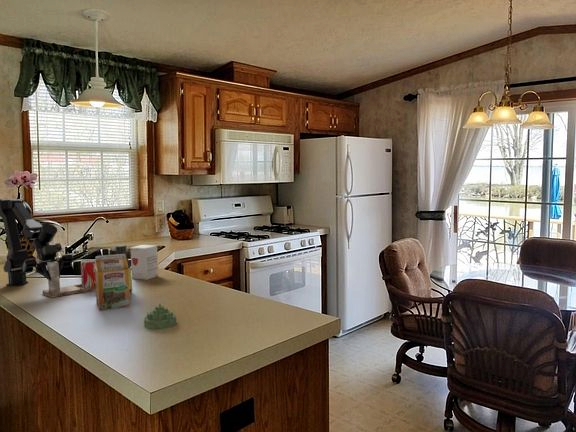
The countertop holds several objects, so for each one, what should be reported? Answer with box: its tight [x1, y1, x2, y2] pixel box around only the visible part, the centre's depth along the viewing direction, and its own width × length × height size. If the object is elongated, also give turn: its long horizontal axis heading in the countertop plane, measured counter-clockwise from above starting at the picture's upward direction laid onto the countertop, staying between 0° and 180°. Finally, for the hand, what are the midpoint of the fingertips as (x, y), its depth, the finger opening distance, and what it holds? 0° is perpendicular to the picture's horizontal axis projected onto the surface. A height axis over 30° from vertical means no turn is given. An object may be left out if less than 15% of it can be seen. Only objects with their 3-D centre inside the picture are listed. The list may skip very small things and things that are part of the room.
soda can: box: [80, 259, 96, 289], centre depth 205 cm, size 7×7×12 cm
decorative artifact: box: [143, 303, 177, 331], centre depth 154 cm, size 10×7×10 cm
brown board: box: [42, 261, 96, 299], centre depth 201 cm, size 22×10×13 cm, turn 135°
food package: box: [94, 253, 131, 312], centre depth 177 cm, size 11×11×19 cm
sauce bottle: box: [115, 244, 133, 294], centre depth 195 cm, size 7×6×20 cm
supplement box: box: [130, 244, 159, 281], centre depth 225 cm, size 9×9×15 cm
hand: (54, 279), depth 194 cm, fingers open, 3 cm apart
